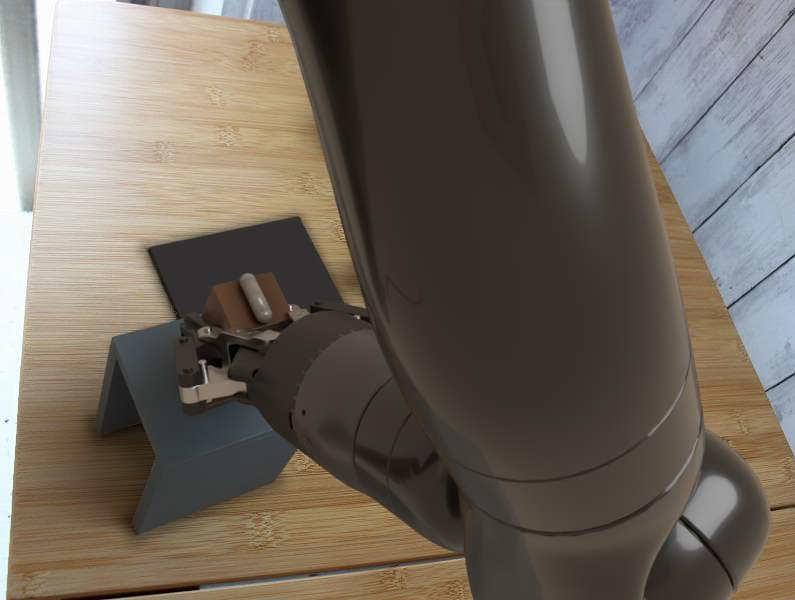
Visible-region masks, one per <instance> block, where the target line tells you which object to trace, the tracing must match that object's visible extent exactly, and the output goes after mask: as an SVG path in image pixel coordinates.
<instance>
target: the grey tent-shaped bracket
mask: <svg viewBox="0 0 795 600" xmlns="http://www.w3.org/2000/svg"><path fill="white" fill-rule="evenodd" d="M202 314H203V313H202ZM202 314H199V315H201V316H202ZM183 322H184V318H183V319H176V320H172V321H168V322H164V323H161V324H156V325H152V326H149V327H145V328H141V329H137V330H133V331H129V332H126V333H122V334H118V335H114V336H112V337H111V339H110V343H109V348H108V354H107V358H106V363H105V369H104V374H103V380H102V385H101V390H100V395H99V400H98V403H97V404H98V406H97V409H96V410H97V411H96V415H95V421H94V425H95V428H96V431H97V433H98V435H99V437H100V436H104V435H106V434H110V433H113V432H116V431H120V430H123V429H126V428H128V427H132V426H136V425H139V424H141V423H142V426H143V428H144V431H145V434H146V435H147V438H148V441H149V443H150V446H151V448H152V450H153V451H152V452H153V454H154V456H155V459H154V462H153V463H152V466H151V467H152V468H151V469H150V472H149V475H148V478H147V480H146V483H145V486H144V488H143V492H142V494H141V497H140V500H139V501H138V505H137V508H136V510H135V513H134V516H133V518H132V525H133V528H134V530H135V533H136V536H139V535H142V534H145V533H147V532H150V531H153V530H155V529H158V528H160V527H162V526H165V525H168V524H170V523H173V522H175V521H178V520H181V519H183V518H185V517H188V516H190V515H193V514H196V513H198V512H201V511H204V510H206V509H208V508H211V507H213V506H215V505H219V504H221V503H224V502H227V501H229V500H231V499H234V498H236V497H239V496H242V495H244V494H247V493H250V492H251V491H255V490H256V489H259V488H262V487H264V486H267V485H270V484H272V483H275V481H276V480H277V479H278V477H279V476H280V474H281V473H282V472H283V470H284V469H285V467H286V466H287V465H288V464H289V462H290V461H291V460H292V457H294V455H295V454H296V453H297V451H298V450H299V449H297V448H296V447H295V446H293V445H292V444H291V443H289V442H288V441H287V440H285V439H284V438H283V437H281V436H280V435H279V434H278V433H276V432H275V431H274V430H273V429H272V428H271V426H270V425H269V424H268V423H267V421H266V420H265V419H264V417H263V416H262V415H261V413H260V412H259V410H258V409H257V408H256V407H254V406H251V405H246V404H241V403H238V402H236V401H234V402H231V403H228V404H225V405H222V406H219V407H216V408H213V409H210V410H207V411H205V412H204V413H202V414H200V415H196V416H186V415H184V414H183V410H182V403H181V397H180V391H179V385H178V379H177V373H176V365H175V357H174V348H173V340H175V339H177V338H180V337H181V331H180V323H183Z"/></svg>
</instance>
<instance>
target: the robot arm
mask: <svg viewBox="0 0 795 600" xmlns="http://www.w3.org/2000/svg"><path fill="white" fill-rule="evenodd" d="M277 3H278V6H279V9H280V12H281V14H282V17H283V21H284V23H285V26H286V29H287V31H288V34H289V37H290V40H291V43H292V47H293V49H294V53H295V56H296V59H297V63H298V67H299V70H300V74H301V77H302V80H303V83H304V87H305V90H306V93H307V97H308V100H309V105H310V107H311V110H312V111H311V112H312V114H313V118H314V123H315V126H316V129H317V134H318V139H319V141H320V145H321V148H322V154H323V158H324V162H325V165H326V169H327V172H328V176H329V180H330V184H331V189H332V192H333V196H334V199H335V204H336V207H337V211H338V215H339V218H340V219H339V220H340V222H341V227H342V231H343V234H344V238H345V243H346V245H347V249H348V252H349V255H350V259H351V262H352V266H353V270H354V273H355V276H356V280H357V283H358V287H359V290H360V293H361V296H362V300H363V304H364V306H365V307H362V306H357V305H351V304H346V303H345V304H341V303H336V302H331V301H325V300H316V301H313V302H311V303H310V309H306V308H305V309H301V308H300V307H299V306H298V305H294V304H288V306H289V308H290V310H291V311H288V312H286V313H287V316H288V325H287V328H284V329H281V330H278V331H272V330H266V331H264V332H261V331H257V330H253V329H250V328H246V327H242V326H239V325H237V326H234V327H232V328H229V329H227V330H225V329H222V328H218V327H216V326H215V325H214V324H213V323H211V322H210V321H208V320H206V319H205V318H203V317H202V316H201V315H199V314H198V313H196V312H194V313H190V314H186V315H184V322H183V323H180V331H181V337H180V338H177V339H175V340H173V348H174V357H175V365H176V373H177V379H178V385H179V391H180V397H181V403H182V410H183V414H184V415H186V416H196V415H200V414H202V413H204V412H205V410H206V408H205V403H209V402H211V401H212V399H213V398H219V397H224V396H230V395H231V397H232V398H233V399H234V400H235V401H236V402H238V403H241V404H246V405H251V406H254V407H256V408H257V409H258V410H259V412H260V413H261V415H262V416H263V417H264V419H265V420H266V421H267V423H268V424H269V425H270V426H271V428H272V429H273V430H274V431H275V432H276V433H278V434H279V435H280V436H281V437H283V438H284V439H285V440H287V441H288V442H289V443H291V444H292V445H293V446H295V447H296V448H297V449H298V450H299V451H300V452H301V453H302V454H303V455H305V456H306V457H308V458H309V459H310V460H312V461H313V462H314V463H316V464H317V465H318V466H319V467H320V468H322V469H323V470H325V471H326V472H327V473H328V474H330V475H331V476H333V477H334V478H335V479H337V480H338V481H339V482H341V483H342V484H344V485H345V486H347V487H348V488H351V489H353V490H355V491H357V492H359V493H361V494H363V495H366V496H367V497H369V498H370V499H372V500H374V501H375V502H377V503H378V505H380V506H381V507H383V508H384V509H385V510H387V511H389V513H391V514H392V515H393V516H395V517H396V518H398V519H399V520H400V521H402V522H403V523H404V524H406V525H407V526H408V527H409V528H410V529H411V530H414V531H415V532H416V533H417V534H419V535H420V536H421V537H422V538H425V540H428V541H429V542H431V543H432V544H434V545H436V546H438V547H440V548H442V549H443V550H447V551H450V552H456V553H464V562H465V569H466V573H467V579H468V584H469V585H468V586H469V589H470V593H471V597H472V600H731V599H732V598H733V596H734V594H735V593H737V591H738V590H739V589H740V587H741V586H742V584H743V583H744V581H745V580H746V578H747V577H748V575H749V574H750V573H751V572H752V570H753V568H754V567H755V565H756V564H757V562H758V561H759V559H760V558H761V556H762V555H763V553H764V550H765V548H766V546H767V544H768V541H769V539H770V535H771V530H772V522H773V520H772V519H773V518H772V511H771V506H770V501H769V498H768V495H767V493H766V491H765V489H764V486H763V484H762V482H761V480H760V478H759V477H758V475H757V474H756V473H755V471H754V470H753V468H752V467H751V466H750V464H749V463H748V462H747V460H745V458H744V457H743V456H742V455H741V454H740V453H739V452H738V451H737V450H736V449H734V448H733V447H732V445H730V444H729V443H727V442H726V441H725V440H724V439H723V438H721V437H720V436H719V435H718V434H716V433H714V432H713V431H711V430H709V429H708V428H706V427H705V417H704V416H705V415H704V409H703V404H702V399H701V390H700V384H699V380H698V374H697V373H698V372H697V368H696V362H695V357H694V351H693V344H692V340H691V335H690V328H689V323H688V317H687V312H686V307H685V302H684V298H683V293H682V288H681V284H680V279H679V275H678V271H677V266H676V262H675V258H674V254H673V249H672V245H671V242H670V238H669V233H668V230H667V226H666V221H665V218H664V214H663V210H662V207H661V203H660V199H659V196H658V191H657V187H656V183H655V180H654V177H653V173H652V168H651V165H650V161H649V157H648V153H647V149H646V145H645V140H644V137H643V133H642V129H641V124H640V121H639V117H638V113H637V109H636V106H635V105H636V104H635V102H634V101H635V100H634V97H633V93H632V89H631V85H630V80H629V77H628V73H627V69H626V64H625V61H624V56H623V52H622V49H621V45H620V41H619V37H618V36H619V35H618V32H617V29H616V24H615V20H614V16H613V12H612V7H611V4H610V3H611V2H610V0H277Z"/></svg>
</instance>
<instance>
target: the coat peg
mask: <svg viewBox="0 0 795 600" xmlns="http://www.w3.org/2000/svg"><path fill="white" fill-rule="evenodd" d="M288 311H291V310H290V308H289V306H288V304H287V302H286V300H285V298H284V296H283V293H282V291H281V289H280V287H279V285H278V283H277V281H276V279H275V277H274V275H273V273H272V272H268V273H264V274H260V275H256V276H254V275H252V274H250V273H246V274H243V275H242V276H241V278H240V279H239V280H235V281H231V282H227V283H223V284H219V285H215V286H212V288H211V291H210V294H209V297H208V300H207V302H206V305H205V308H204V311H203V314H202V317H203V318H205V319H206V320H208V321H210V322H211V323H213V324H214V325H215V326H216V327H218V328H222V329H225V330H227V329H229V328H232V327H234V326H237V325H239V326H242V327H246V328H250V329H253V330H257V331H261V332H264V331H266V330H272V331H278V330H281V329H284V328H287V325H288V316H287V313H286V312H288ZM234 401H235V400H234V399H233V398H232V397H231V395H230V396H224V397H219V398H213V399H212V401H211V402H209V403H205V408H206V410H205V411H207V410H210V409H213V408H216V407H219V406H222V405H225V404H228V403H231V402H234Z"/></svg>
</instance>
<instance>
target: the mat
mask: <svg viewBox="0 0 795 600" xmlns="http://www.w3.org/2000/svg"><path fill="white" fill-rule="evenodd" d="M148 252H149V255H150V257H151V259H152V261H153V264H154V266H155V268H156V271H157V273H158V275H159V277H160V281H161V282H162V284H163V286H164V289H165V291H166V294H167V296H168V298H169V300H170V302H171V305H172V307H173V309H174V312H175V313H176V316H177V318H178V319H177V320H179V319H183V318H184V315H186V314H190V313H194V312H196V313H198V314H202V313H203V311H204V308H205V305H206V302H207V300H208V297H209V294H210V291H211V288H212V286H215V285H219V284H223V283H227V282H231V281H235V280H239V279H240V278H241V276H242V275H243V274H246V273H250V274H252V275H254V276H256V275H260V274H264V273H268V272H272V273H273V275H274V277H275V279H276V281H277V283H278V285H279V287H280V289H281V291H282V293H283V296H284V298H285V300H286V302H287V304H294V305H298V306H299V307H300V308H301V309H305V308H306V309H310V303H311V302H313V301H316V300H325V301H331V302H336V303H341V304H346V303H345V301H344V300H343V298H342V296H341V294H340V291H339V290H338V289H337V287H336V284H335V283H334V280H333V278H332V276H331V275H330V272H329V271H328V269H327V267H326V265H325V263H324V261H323V259H322V257H321V255H320V253H319V251H318V250H317V248H316V246H315V244H314V243H313V240H312V238H311V236H310V234H309V232H308V230H307V229H306V226H305V225H304V223H303V221H302V219H301V217H300V216H299V215H296V216H293V217H292V216H291V217H287V218H282V219H278V220H273V221H268V222H264V223H258V224H253V225H248V226H244V227H239V228H233V229H229V230H225V231H220V232H215V233H210V234H206V235H201V236H197V237H191V238H187V239H181V240H176V241H171V242H167V243H162V244H157V245H152V246H149V247H148Z"/></svg>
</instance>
